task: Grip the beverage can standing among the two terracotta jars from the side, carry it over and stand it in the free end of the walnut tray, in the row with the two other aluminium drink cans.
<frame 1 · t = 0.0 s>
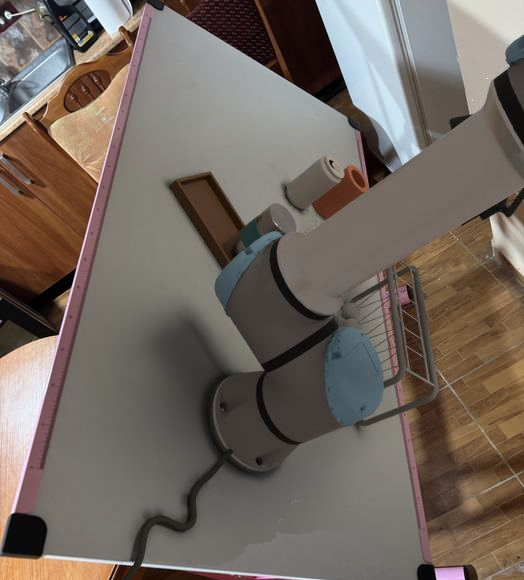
hand: (443, 192, 105), 28 cm above the table, tool pointing down, fingers open, 13 cm apart
tray can 1: (258, 287, 100), resting on can tray
tray can 2: (236, 254, 100), resting on can tray
newton's cradle: (335, 352, 110), on the table
can tray: (229, 246, 100), on the table
jar a: (321, 206, 130), on the table
jar b: (312, 256, 118), on the table
beverage can: (294, 198, 123), on the table
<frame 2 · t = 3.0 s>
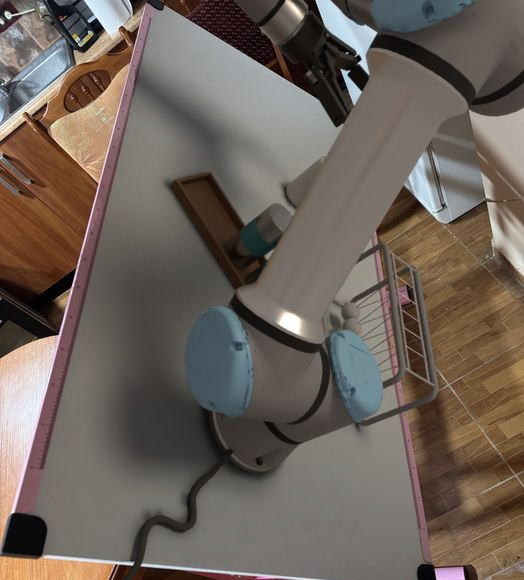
hand: (373, 117, 102), 26 cm above the table, tool horizontal, fingers open, 13 cm apart
nothing on the table moved.
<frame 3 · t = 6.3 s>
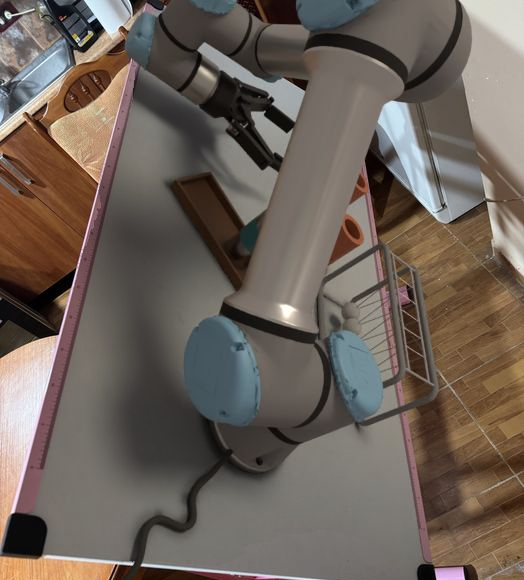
hand: (293, 151, 112), 9 cm above the table, tool horizontal, fingers open, 13 cm apart
nothing on the table moved.
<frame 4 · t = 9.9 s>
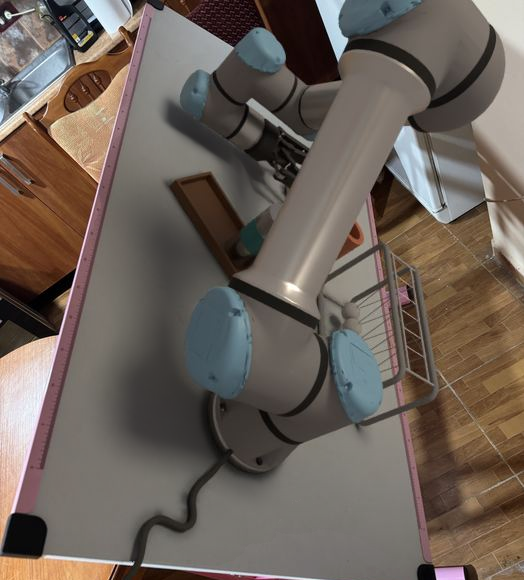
hand: (332, 192, 122), 7 cm above the table, tool horizontal, fingers closed on beverage can, 6 cm apart
beverage can: (294, 198, 123), on the table, touching gripper
everything else where it was.
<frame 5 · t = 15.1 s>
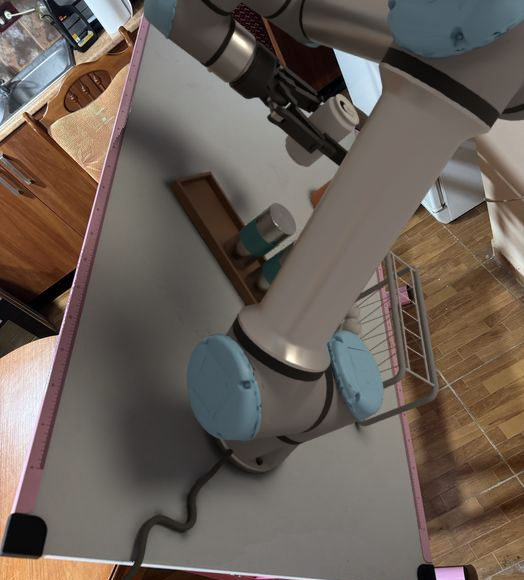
hand: (343, 146, 97), 22 cm above the table, tool horizontal, fingers closed on beverage can, 6 cm apart
beverage can: (294, 154, 98), point 15 cm above the table, touching gripper
everything else where it was.
when the fingers open (7 cm above the table, at t = 20.8 s): beverage can stays where it is, resting on can tray.
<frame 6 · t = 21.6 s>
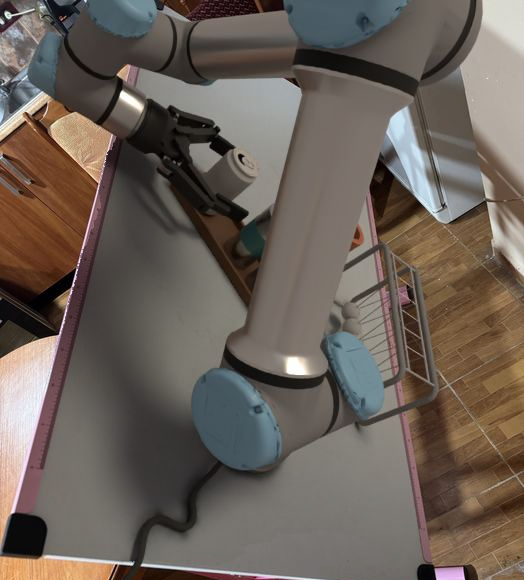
hand: (243, 188, 97), 8 cm above the table, tool horizontal, fingers open, 13 cm apart
beverage can: (202, 202, 99), resting on can tray
everything else where it was.
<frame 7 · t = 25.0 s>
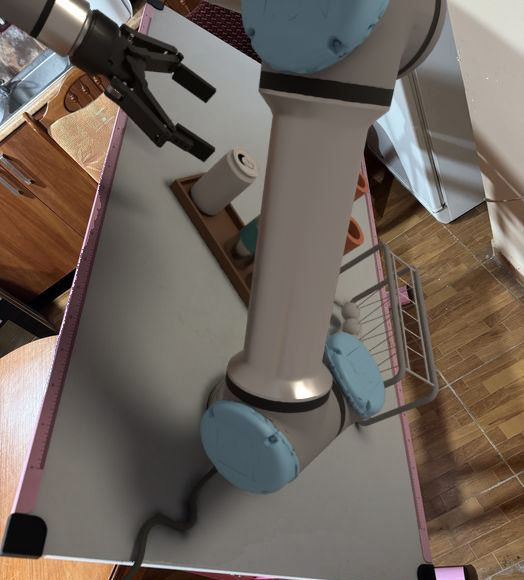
hand: (210, 124, 85), 14 cm above the table, tool horizontal, fingers open, 13 cm apart
nothing on the table moved.
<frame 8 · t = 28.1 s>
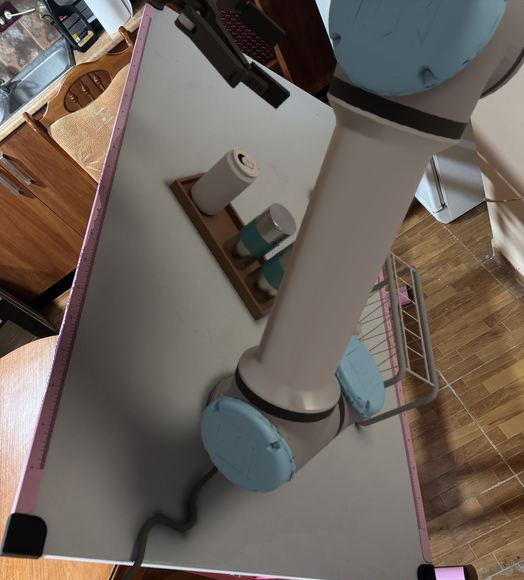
hand: (281, 69, 77), 28 cm above the table, tool horizontal, fingers open, 13 cm apart
nothing on the table moved.
at the end: beverage can inside the target area in the can tray (0.3 cm from its centre), point 0.2 cm above the can tray's base; beverage can tilted 0°; tray can 2 moved 0.0 cm from its start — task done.
